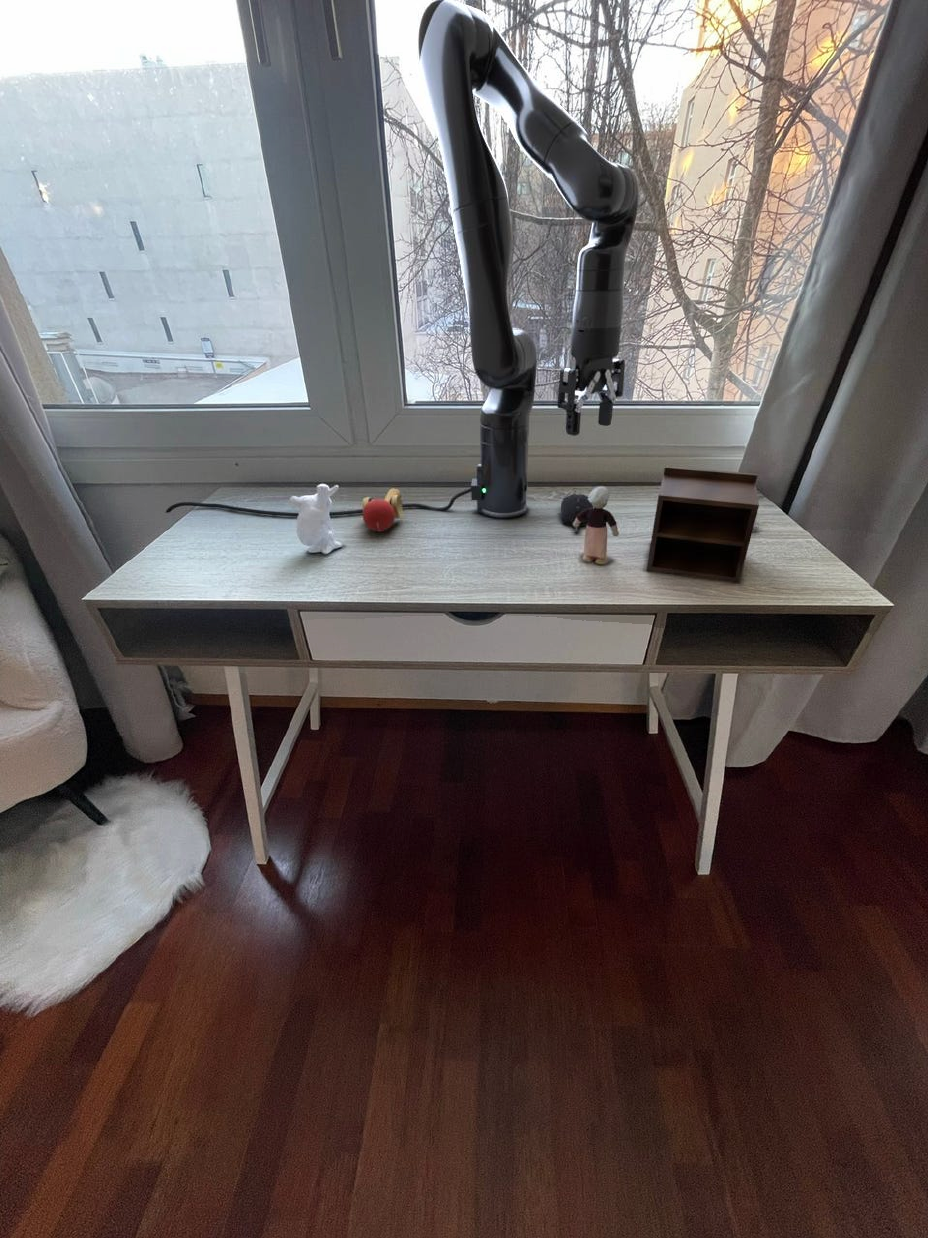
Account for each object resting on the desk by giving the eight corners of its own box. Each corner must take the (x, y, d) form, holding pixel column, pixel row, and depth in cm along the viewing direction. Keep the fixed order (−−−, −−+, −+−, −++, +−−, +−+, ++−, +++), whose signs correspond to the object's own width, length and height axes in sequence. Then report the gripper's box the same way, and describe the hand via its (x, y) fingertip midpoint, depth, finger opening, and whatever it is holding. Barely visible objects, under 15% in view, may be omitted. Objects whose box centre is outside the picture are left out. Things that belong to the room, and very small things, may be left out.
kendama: (373, 508, 126) (352, 530, 109) (377, 478, 123) (355, 496, 107) (409, 515, 126) (393, 538, 109) (413, 485, 123) (397, 505, 107)
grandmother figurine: (616, 557, 100) (626, 485, 94) (614, 567, 97) (623, 493, 91) (571, 551, 103) (577, 480, 96) (567, 561, 100) (573, 488, 93)
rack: (646, 570, 96) (659, 487, 89) (652, 543, 105) (665, 466, 97) (739, 583, 92) (761, 496, 84) (737, 554, 101) (757, 473, 93)
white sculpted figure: (349, 541, 108) (341, 477, 102) (343, 557, 102) (334, 490, 96) (303, 542, 108) (292, 478, 102) (294, 558, 102) (282, 492, 96)
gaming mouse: (559, 532, 110) (560, 512, 107) (561, 504, 122) (562, 485, 120) (593, 534, 109) (595, 514, 106) (592, 505, 121) (594, 486, 119)
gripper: (604, 318, 98) (596, 419, 107) (548, 326, 90) (544, 434, 99) (643, 320, 93) (632, 425, 102) (587, 328, 85) (579, 441, 94)
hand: (588, 429), depth 100 cm, fingers open, 8 cm apart
